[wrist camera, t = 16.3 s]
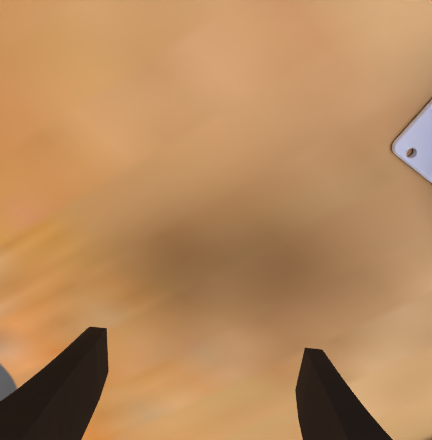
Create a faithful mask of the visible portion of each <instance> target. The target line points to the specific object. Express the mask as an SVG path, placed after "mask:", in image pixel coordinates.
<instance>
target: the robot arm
mask: <svg viewBox="0 0 432 440" xmlns="http://www.w3.org/2000/svg"><path fill="white" fill-rule="evenodd" d="M410 148H413V154H412V155H411V156H408V157H407V156H406V153H407V151H408V150H409V149H410ZM392 151H393V153H394V154H395V155H396V156H398V157H399V158H400V159H402V160H403V161H404V162H405V163H407V164H408V165H409V166H410V167H412V168H413V169H414V170H415V171H417V172H418V173H419V174H420V175H422V176H423V177H424V178H425V179H427V180H428V181H429V182H430V183H432V100H431V101H430V102H429V103H428V104H427V105H426V107H425V108H424V109H423V110H422V111H421V112H420V113H419V114H418V115H417V117H416V118H415V119H414V120H413V121H412V122H411V123H410V124H409V125H408V127H407V128H406V129H405V130H404V131H403V132H402V133H401V134H400V135H399V137H398V138H397V139H396V140H395V141H394V143H393V144H392ZM107 374H108V351H107V328H97V327H89V328H88V329H86V330H85V331H84V332H83V333H82V334H81V335H80V336H79V337H78V338H77V339H76V340H75V341H74V342H72V343H71V344H70V345H69V346H68V347H67V348H66V349H65V350H64V351H63V352H62V353H60V354H59V355H58V356H57V357H56V358H55V359H54V360H52V361H51V362H50V363H49V364H48V365H47V366H46V367H44V368H43V369H42V370H41V371H40V372H38V373H37V374H36V375H35V376H33V377H32V378H31V379H30V380H28V381H27V382H26V383H25V384H23V385H22V386H21V387H20V388H18V389H17V390H16V391H14V392H13V393H12V394H10V395H9V396H8V397H6V398H5V399H3V400H2V401H0V440H81V439H82V437H83V435H84V432H85V430H86V428H87V426H88V424H89V422H90V419H91V417H92V415H93V413H94V410H95V408H96V406H97V404H98V401H99V399H100V396H101V393H102V390H103V387H104V384H105V381H106V377H107ZM295 391H296V401H297V410H298V418H299V423H300V428H301V433H302V437H303V440H393V439H392V438H391V437H390V436H389V435H388V434H387V433H386V432H385V431H384V430H383V429H382V427H381V426H380V425H379V424H378V423H377V422H376V420H375V419H374V418H373V417H372V416H371V415H370V413H369V412H368V411H367V410H366V408H365V407H364V406H363V405H362V404H361V402H360V401H359V400H358V398H357V397H356V396H355V394H354V393H353V392H352V391H351V389H350V388H349V387H348V385H347V384H346V383H345V381H344V380H343V378H342V377H341V376H340V374H339V373H338V371H337V370H336V369H335V367H334V366H333V364H332V363H331V361H330V360H329V359H328V357H327V356H326V354H325V353H324V352H323V350H321V349H311V348H305V350H304V355H303V359H302V363H301V368H300V372H299V377H298V381H297V385H296V390H295Z"/></svg>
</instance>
